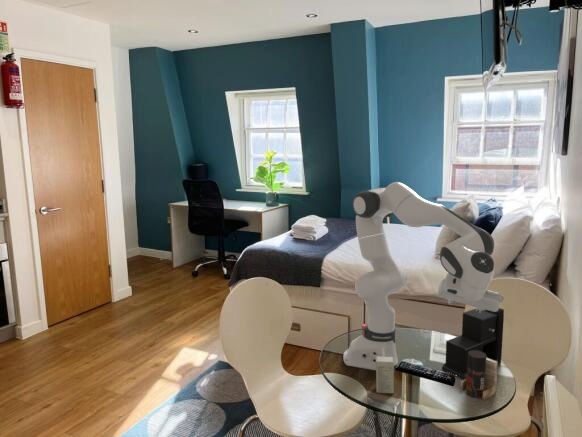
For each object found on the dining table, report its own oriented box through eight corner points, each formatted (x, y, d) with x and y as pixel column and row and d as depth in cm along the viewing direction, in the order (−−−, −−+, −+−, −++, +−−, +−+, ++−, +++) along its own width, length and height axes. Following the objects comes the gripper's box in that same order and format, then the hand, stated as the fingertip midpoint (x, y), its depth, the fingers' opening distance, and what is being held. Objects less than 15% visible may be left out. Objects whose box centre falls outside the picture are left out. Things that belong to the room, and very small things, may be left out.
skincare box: (393, 387, 163) (393, 356, 161) (393, 394, 159) (394, 362, 157) (375, 386, 164) (376, 355, 162) (375, 392, 160) (376, 361, 158)
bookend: (464, 381, 167) (467, 322, 163) (441, 369, 176) (443, 313, 172) (501, 364, 179) (505, 309, 175) (478, 354, 188) (481, 301, 184)
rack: (484, 400, 154) (486, 368, 152) (460, 389, 161) (462, 358, 159) (495, 393, 158) (497, 361, 156) (471, 382, 165) (473, 352, 163)
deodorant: (470, 387, 162) (472, 348, 160) (486, 393, 158) (489, 354, 156) (463, 393, 158) (465, 354, 156) (479, 400, 154) (482, 359, 152)
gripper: (506, 287, 146) (496, 307, 157) (442, 271, 152) (437, 291, 163) (504, 304, 142) (494, 323, 153) (439, 287, 149) (433, 306, 159)
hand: (464, 306), depth 158 cm, fingers open, 8 cm apart
